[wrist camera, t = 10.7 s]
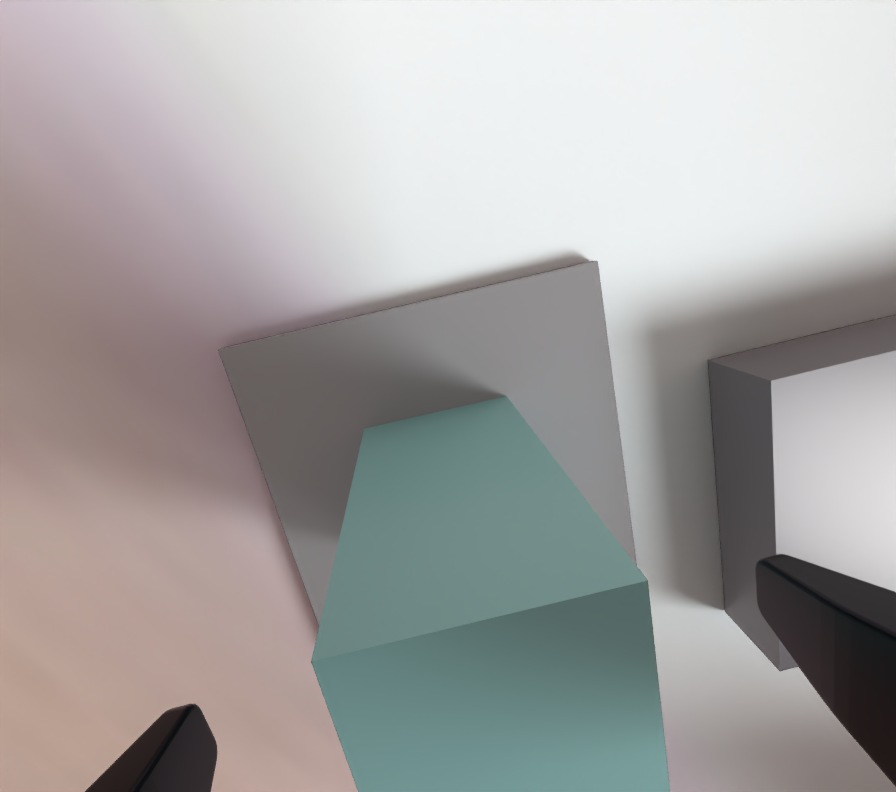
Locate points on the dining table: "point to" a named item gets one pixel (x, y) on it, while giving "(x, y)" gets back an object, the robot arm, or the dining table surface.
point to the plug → (485, 620)
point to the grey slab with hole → (806, 462)
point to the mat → (431, 395)
